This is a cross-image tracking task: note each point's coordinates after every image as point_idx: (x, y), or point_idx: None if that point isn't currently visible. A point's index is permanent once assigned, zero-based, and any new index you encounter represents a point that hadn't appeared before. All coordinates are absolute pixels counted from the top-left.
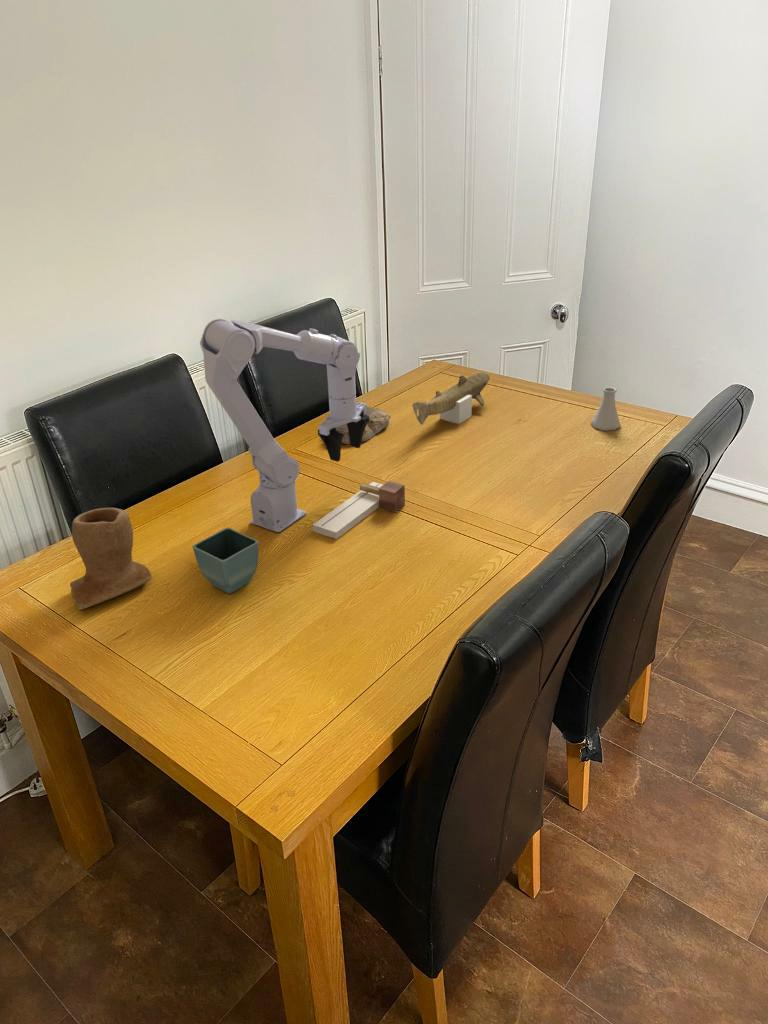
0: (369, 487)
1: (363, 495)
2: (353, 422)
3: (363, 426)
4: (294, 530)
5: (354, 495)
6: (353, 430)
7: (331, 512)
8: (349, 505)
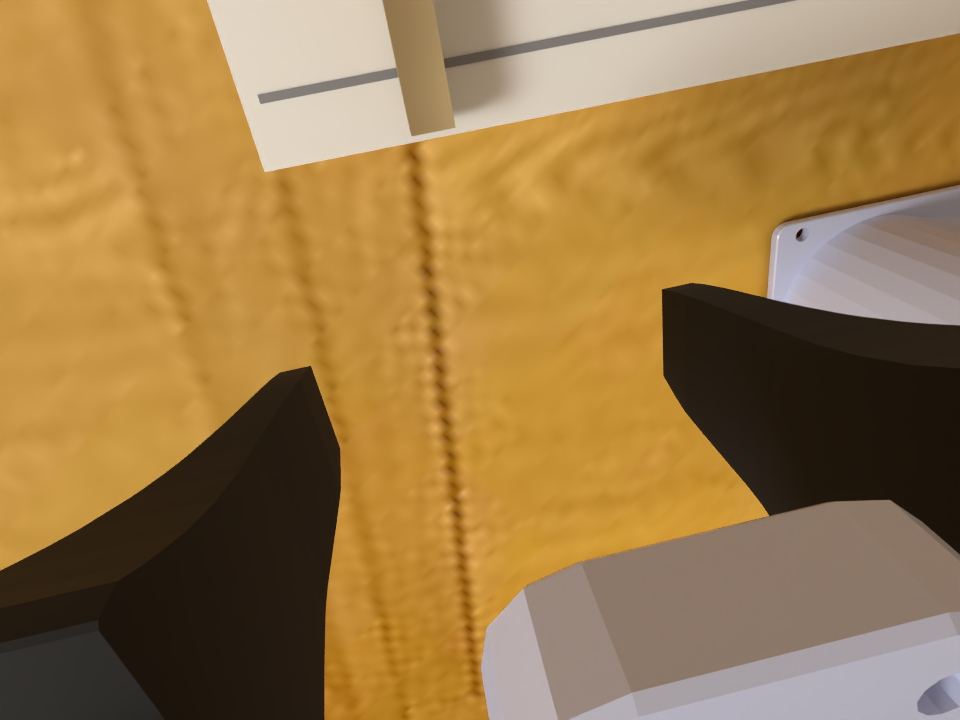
0: (430, 23)
1: (469, 57)
2: (271, 700)
3: (161, 522)
4: (944, 136)
5: (507, 118)
6: (296, 573)
7: (779, 58)
8: (645, 24)
